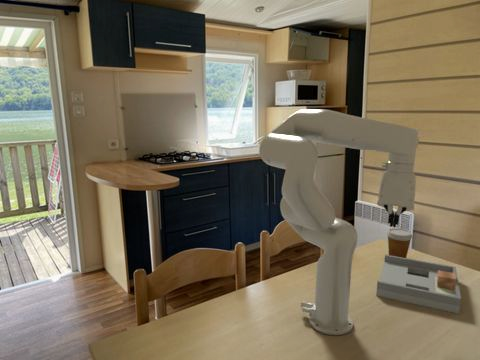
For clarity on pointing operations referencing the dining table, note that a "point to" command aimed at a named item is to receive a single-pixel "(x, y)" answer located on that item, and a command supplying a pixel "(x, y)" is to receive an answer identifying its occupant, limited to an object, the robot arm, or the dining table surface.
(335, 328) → the robot arm
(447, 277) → the block
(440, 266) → the box
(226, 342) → the dining table surface
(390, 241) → the disposable coffee cup
